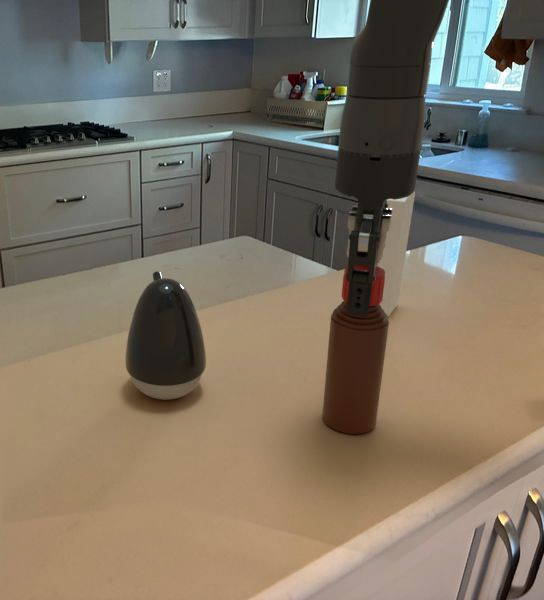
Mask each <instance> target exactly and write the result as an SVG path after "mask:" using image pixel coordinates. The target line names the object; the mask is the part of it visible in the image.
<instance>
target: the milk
mask: <svg viewBox="0 0 544 600" xmlns="http://www.w3.org/2000/svg"><path fill="white" fill-rule="evenodd" d="M415 198H416V190H414V192H413V193H412V194H411V195H410V196H408V197H405V198H401V199H395V200H394V199H387V204H388V209H392V217H391V223H390V227H389V231H388V232H387V235H386V242H385V247H384V250H383V257H382V259H381V260H380V262H379V263H378V265H377V266H378V267H380V268H382V269H384V270H385V282H384V290H383V298H382V302H381V303H380V304H379V305H380V306H381V308H382V309H383V310H384V312H385V313H386V314H387V316H388V318H389V317H390V316H391V314H392V313H393V312H394V311H395V309H396V308H397V306H398V305H399V299H400V294H401V293H400V292H401V287H402V280H403V275H404V267H405V260H406V255H407V250H408V249H407V248H408V241H409V235H410V228H411V222H412V216H413V212H414V211H413V210H414V204H415Z"/></svg>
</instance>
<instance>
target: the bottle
mask: <svg viewBox="0 0 544 600" xmlns="http://www.w3.org/2000/svg"><path fill="white" fill-rule="evenodd" d="M346 309H347V302H345V301H344V300H343V301H341V303H340V304H339V305H337V307H336V308H334V309H333V311H332V313H331V315H330V324H329V335H328V347H327V357H326V358H327V359H326V368H325V381H324V391H323V392H324V393H323V403H322V405H323V406H322V415H321V417H322V419H323V421H324V423H325V424H326V425H327V426H328V427H330V428H332V429H333V430H336V431H338V432H341V433H345V434H355V435H357V434H365V433H368V432H370V431H372V430H374V428H375V427H376V425H377V420H378V419H377V418H378V410H379V402H380V396H381V395H380V394H381V387H382V381H383V373H384V364H385V357H386V350H387V349H386V348H387V342H388V341H387V340H388V333H389V326H390V320H389V317H388V316H387V314H386V313H385V312H384V310H383V309H382V308H381V306H380V305H379V304H378V305H375V306H370V307H369V313H368V315H366V316H359V315H352V314H349V313H347V310H346Z"/></svg>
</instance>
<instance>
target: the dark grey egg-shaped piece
mask: <svg viewBox="0 0 544 600" xmlns="http://www.w3.org/2000/svg"><path fill="white" fill-rule="evenodd" d="M152 279H153V281H151V282H150V283H149V284H148V285H146V287H145V288H144V289H143V290H142V293H141V294H140V296H139V298H138V301H137V303H136V306H135V308H134V311H133V314H132V317H131V322H130V326H129V329H128V330H129V331H128V335H127V341H126V349H125V358H124V359H125V369H126V371H127V373H128V374H129V377H130V379H131V382H132V384H134V386H135V387H136V389H138V391H139V392H141V393H142V394H144V395H145V396H148V397H150V398H152V399H156V400H164V401H165V400H166V401H167V400H175V399H180V398H181V397H184V396H186V395H188V394H190V393H191V392H192V391H193V390H194V389H195V388H196V387H197V386H198V385H199V382H200V381H201V379H202V376H203V373H204V372H205V370H206V368H207V353H206V345H205V340H204V335H203V331H202V327H201V323H200V320H199V315H198V313H197V310H196V307H195V304H194V302H193V300H192V298H191V296H190V293H189V292H188V291H187V289H186V288H185V287H184V286H183V285H182V284H181V282H179V281H177V280H175V279H172V278H170V277H169V278H167V277H164V278H163V275H162V273H161V272H160V271H159V270H158V271H157V270H156V271H154V272H152Z"/></svg>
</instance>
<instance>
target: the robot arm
mask: <svg viewBox="0 0 544 600" xmlns="http://www.w3.org/2000/svg"><path fill="white" fill-rule="evenodd" d="M449 2H450V0H369V5H368V11H367V17H366V21H365V25H364V27H363V28H362V29H361V30H360V31H359V32H358V33H357V34H356V36H355V38H354V39H353V42H352V45H351V51H350V55H349V63H348V64H349V66H348V76H347V85H346V96H345V101H344V106H343V109H342V114H341V120H340V127H339V129H340V130H339V138H338V147H337V159H336V168H335V178H334V179H335V180H334V189H335V190H336V191H337V192H338V193H339V194H340V195H343V196H346V197H353V198H355V199H356V200H357V203H358V204H357V205H352V206H351V210H350V212H348V217H347V226H346V228H347V230H348V238H347V246H346V253H345V254H346V256H347V258H348V261H347V266H348V272H347V273H346V278H347V281H348V282H350V283H349V292H348V300H347V309H346V310H347V313H349V314H352V315H359V316H366V315H368V313H369V307H370V299H371V292H372V284H373V283H374V281H375V279H376V276H375V269H376V266H377V265H378V263H379V262H380V260H381V259H382V257H383V250H384V247H385V242H386V235H387V232H388V231H389V227H390V223H391V217H392V209H388V204H387V199H394V200H395V199H401V198H405V197H408V196H410V195H411V194H412V193H413V192H414V191H416V190H415V189H416V184H417V178H418V170H419V164H420V158H421V157H420V156H421V151H422V145H423V144H422V143H423V139H424V138H423V137H424V131H425V123H426V99H427V96H426V94H427V91H428V83H429V77H430V70H431V63H432V53H433V46H434V42H435V40H436V37H437V34H438V32H439V29H440V28H441V25H442V23H443V19H444V17H445V14H446V12H447V8H448V5H449ZM356 265H359V266H367V267H369V271H362V270H355V266H356Z"/></svg>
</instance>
